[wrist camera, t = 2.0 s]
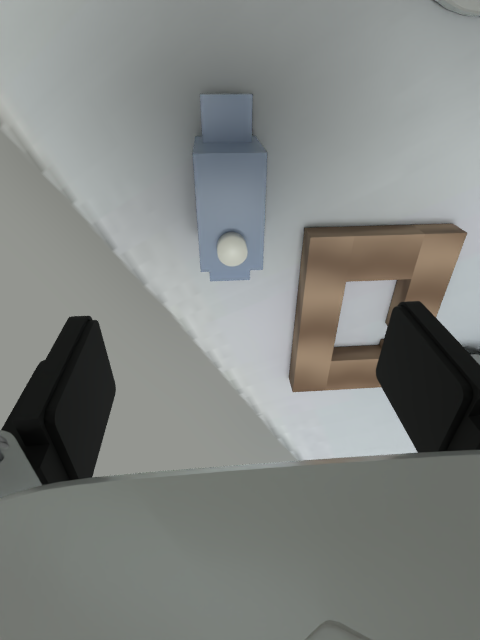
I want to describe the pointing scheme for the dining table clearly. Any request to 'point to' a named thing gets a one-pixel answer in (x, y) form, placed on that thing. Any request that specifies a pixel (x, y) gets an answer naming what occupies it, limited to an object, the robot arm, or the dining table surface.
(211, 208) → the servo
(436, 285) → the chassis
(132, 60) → the dining table surface
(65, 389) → the robot arm
